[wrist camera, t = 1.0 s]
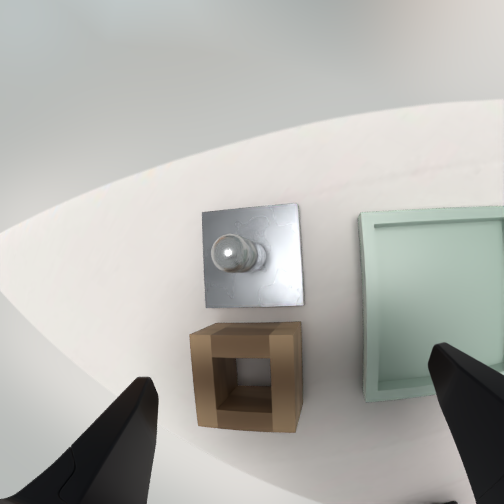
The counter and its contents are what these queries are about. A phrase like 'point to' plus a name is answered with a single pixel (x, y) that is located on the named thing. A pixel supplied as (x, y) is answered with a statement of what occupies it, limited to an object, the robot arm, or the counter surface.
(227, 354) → the walnut block
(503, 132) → the counter surface
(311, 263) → the counter surface
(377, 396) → the sage tray
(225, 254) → the stand
